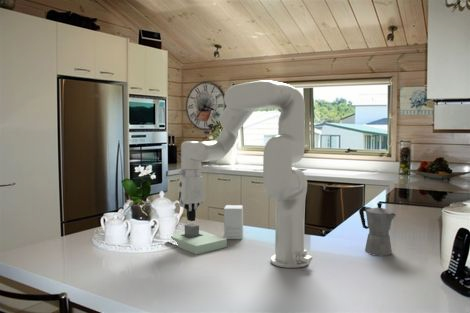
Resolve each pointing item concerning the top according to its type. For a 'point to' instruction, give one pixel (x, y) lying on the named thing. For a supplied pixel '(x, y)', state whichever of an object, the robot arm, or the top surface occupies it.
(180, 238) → the socket plate
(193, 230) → the plug
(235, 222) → the supplement box
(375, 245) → the coffeepot
